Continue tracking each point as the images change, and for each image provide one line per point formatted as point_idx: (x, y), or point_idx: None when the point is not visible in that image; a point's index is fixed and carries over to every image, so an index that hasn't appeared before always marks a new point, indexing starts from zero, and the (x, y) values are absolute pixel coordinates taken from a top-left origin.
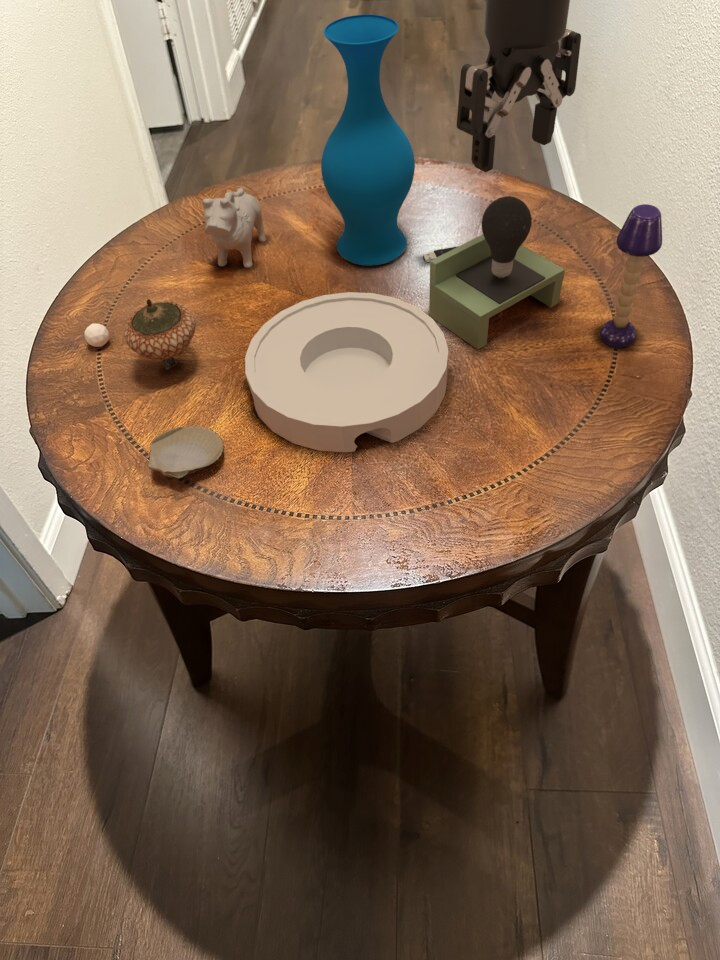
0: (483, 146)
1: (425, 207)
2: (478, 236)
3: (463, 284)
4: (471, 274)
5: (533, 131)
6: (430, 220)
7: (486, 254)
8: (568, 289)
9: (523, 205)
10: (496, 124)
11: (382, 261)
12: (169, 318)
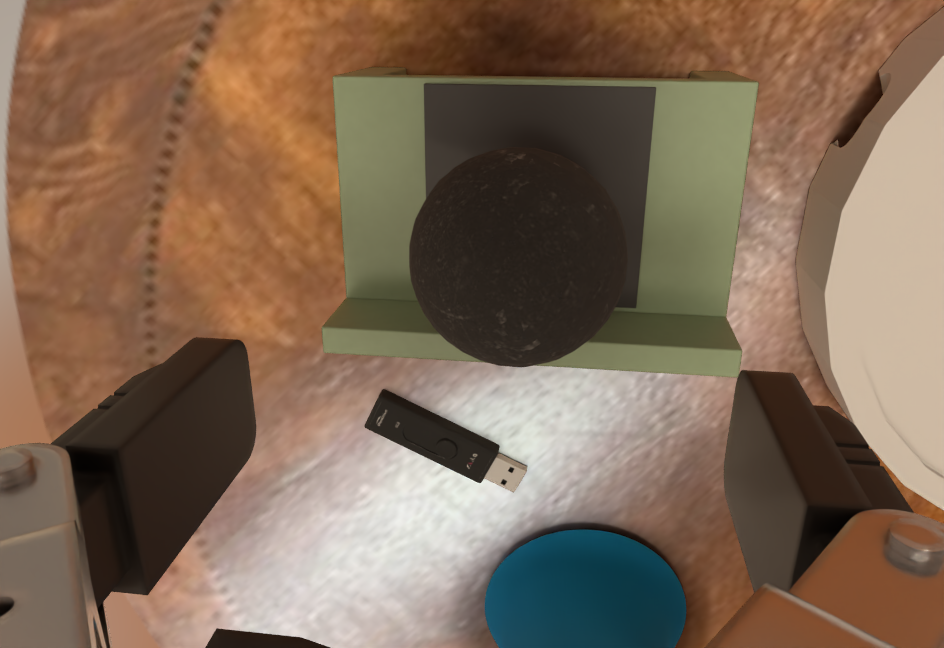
0: (887, 499)
1: (349, 624)
2: None
3: (653, 256)
4: None
5: (234, 467)
6: (379, 580)
7: None
8: (299, 97)
9: (464, 231)
10: (854, 572)
11: (626, 541)
12: None
